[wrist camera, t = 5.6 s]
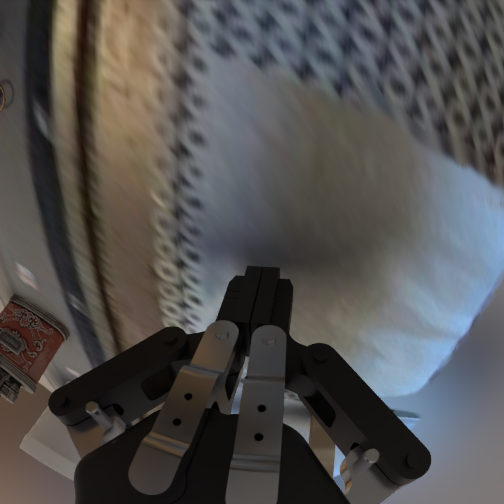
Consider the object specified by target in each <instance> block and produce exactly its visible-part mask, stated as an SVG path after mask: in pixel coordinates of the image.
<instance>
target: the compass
mask: <svg viewBox="0 0 504 504" xmlns="http://www.w3.org/2000/svg"><path fill="white" fill-rule="evenodd" d="M0 89H1V90H2V93H3V104H2V107H1V109H0V112H1V110H2V109H3V108H4V104H5V92H4V89H3V87H2V86H1V85H0Z"/></svg>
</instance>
